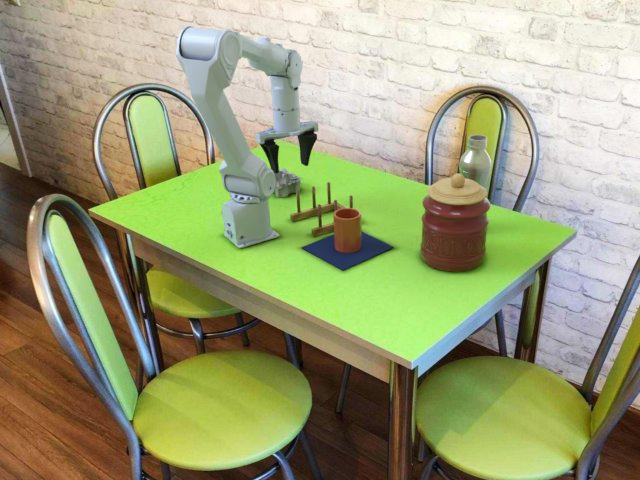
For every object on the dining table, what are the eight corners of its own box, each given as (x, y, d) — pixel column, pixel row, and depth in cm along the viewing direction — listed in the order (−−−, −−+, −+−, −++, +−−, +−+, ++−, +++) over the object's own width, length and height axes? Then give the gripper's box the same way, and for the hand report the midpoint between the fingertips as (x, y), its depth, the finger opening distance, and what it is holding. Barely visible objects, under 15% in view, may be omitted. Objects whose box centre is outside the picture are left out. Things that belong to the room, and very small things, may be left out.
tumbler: (344, 255, 140) (343, 222, 136) (329, 245, 144) (328, 212, 140) (366, 248, 143) (366, 215, 139) (351, 238, 147) (350, 205, 143)
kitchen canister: (430, 276, 134) (434, 190, 124) (412, 245, 144) (415, 164, 135) (494, 269, 136) (503, 184, 126) (472, 239, 146) (479, 159, 137)
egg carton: (256, 186, 172) (254, 170, 170) (282, 178, 176) (280, 163, 173) (279, 199, 165) (277, 183, 162) (305, 191, 168) (304, 175, 166)
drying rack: (313, 236, 148) (312, 207, 145) (290, 220, 155) (288, 191, 151) (360, 222, 154) (360, 193, 150) (335, 207, 161) (334, 179, 157)
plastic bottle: (485, 235, 148) (494, 144, 137) (453, 232, 149) (459, 142, 138) (486, 222, 153) (495, 133, 142) (455, 220, 155) (462, 131, 144)
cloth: (343, 271, 136) (343, 269, 136) (301, 248, 144) (301, 247, 144) (393, 248, 144) (394, 246, 144) (351, 227, 152) (351, 226, 152)
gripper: (264, 118, 142) (270, 181, 150) (324, 106, 149) (327, 166, 157) (248, 110, 147) (254, 171, 155) (307, 98, 154) (310, 157, 162)
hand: (290, 168), depth 156 cm, fingers open, 7 cm apart
